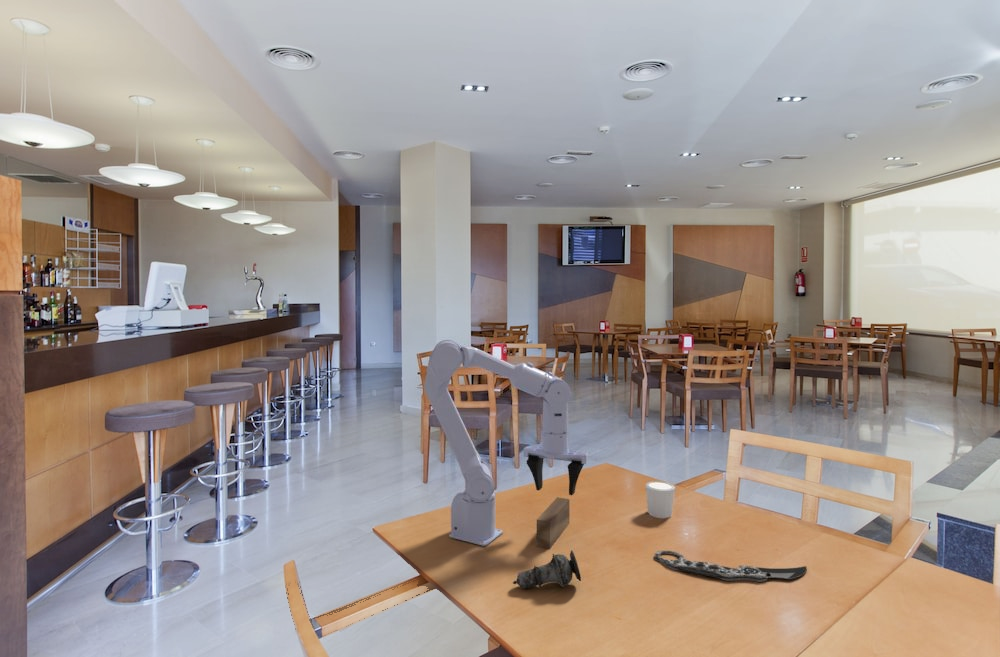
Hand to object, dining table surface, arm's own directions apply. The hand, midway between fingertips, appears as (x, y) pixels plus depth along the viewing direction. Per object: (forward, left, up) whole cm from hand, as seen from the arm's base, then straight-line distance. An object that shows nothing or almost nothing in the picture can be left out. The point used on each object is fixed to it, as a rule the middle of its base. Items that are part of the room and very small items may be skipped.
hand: (555, 491), depth 119 cm
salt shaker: (+13, -19, -6) cm, 23 cm away
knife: (+36, +1, -10) cm, 38 cm away
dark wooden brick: (0, -1, -10) cm, 10 cm away
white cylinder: (+18, +22, -10) cm, 30 cm away
